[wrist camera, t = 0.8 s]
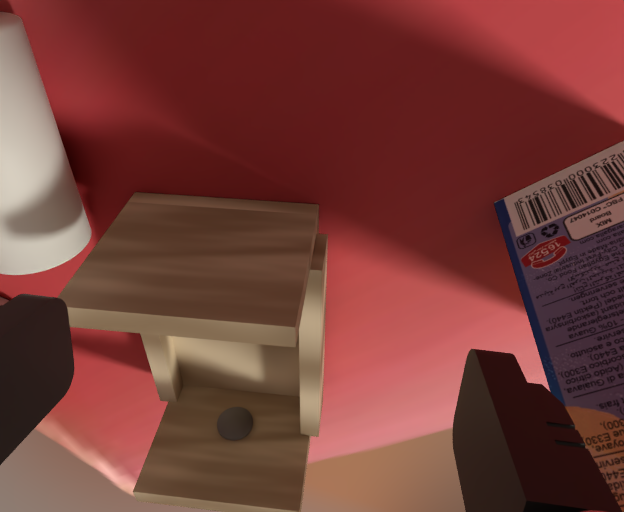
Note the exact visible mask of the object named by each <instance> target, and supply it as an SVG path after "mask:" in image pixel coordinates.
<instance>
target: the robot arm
mask: <svg viewBox="0 0 624 512" xmlns="http://www.w3.org/2000/svg"><path fill="white" fill-rule="evenodd" d="M73 375H74V358H73V350H72V341H71V333H70V325H69V316H68V309H67V306H66V304H65V302H64V301H63V300H62V299H60V298H55V297H46V296H38V295H30V294H20V295H18V296H16V297H14V298H13V299H11V300H10V301H8V302H7V303H5V304H4V305H2V306H1V307H0V465H1V464H2V462H3V461H4V460H5V459H6V458H7V457H8V456H9V455H10V454H11V453H12V452H13V451H14V450H15V449H16V447H17V446H18V445H19V444H20V443H21V442H22V441H23V440H24V439H25V438H26V437H27V436H28V435H29V433H30V432H31V431H32V430H33V429H34V428H35V427H36V426H37V425H38V424H39V423H40V422H41V421H42V419H43V418H44V417H45V416H46V415H47V414H48V413H49V412H50V411H51V410H52V409H53V408H54V407H55V405H56V404H57V403H58V402H59V401H60V400H61V399H62V398H63V397H64V396H65V394H66V393H67V391H68V389H69V387H70V385H71V382H72V379H73ZM453 449H454V454H455V460H456V465H457V469H458V475H459V480H460V485H461V490H462V494H463V500H464V505H465V510H466V512H622V510H621V508H620V506H619V504H618V503H617V501H616V499H615V497H614V495H613V493H612V492H611V490H610V488H609V486H608V484H607V482H606V481H605V479H604V477H603V475H602V473H601V472H600V470H599V468H598V466H597V464H596V462H595V461H594V459H593V457H592V455H591V453H590V451H589V450H588V449H586V448H585V442H584V441H583V439H582V437H581V435H580V433H579V431H578V430H575V424H574V422H573V420H572V419H571V417H570V415H569V413H568V411H567V410H566V408H565V406H564V404H563V403H562V402H561V401H560V400H558V399H557V398H556V397H555V396H554V395H553V394H552V393H551V392H550V391H548V390H547V389H546V388H545V387H544V386H543V385H542V384H534V383H527V381H526V379H525V377H524V374H523V372H522V370H521V368H520V366H519V364H518V362H517V360H516V358H515V356H514V355H513V354H510V353H502V352H494V351H486V350H477V349H471V350H470V351H469V353H468V356H467V359H466V364H465V368H464V373H463V378H462V382H461V387H460V392H459V396H458V401H457V406H456V411H455V415H454V422H453Z"/></svg>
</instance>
